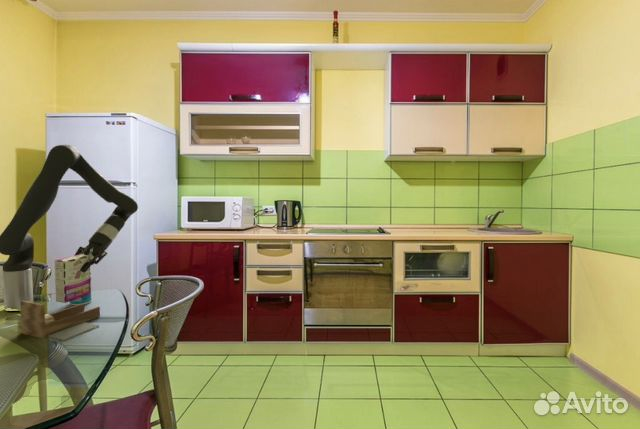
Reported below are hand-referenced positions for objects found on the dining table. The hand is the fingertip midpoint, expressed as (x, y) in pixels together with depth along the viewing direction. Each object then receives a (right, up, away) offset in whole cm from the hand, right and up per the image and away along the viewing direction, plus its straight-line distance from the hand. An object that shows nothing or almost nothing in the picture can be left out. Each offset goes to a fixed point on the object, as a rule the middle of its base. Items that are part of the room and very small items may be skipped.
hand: (77, 270), depth 136 cm
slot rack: (-2, -20, -3) cm, 21 cm away
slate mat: (+6, -21, -10) cm, 24 cm away
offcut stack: (-5, -21, -10) cm, 24 cm away
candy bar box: (-1, -11, -1) cm, 11 cm away
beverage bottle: (-12, -18, +20) cm, 29 cm away
